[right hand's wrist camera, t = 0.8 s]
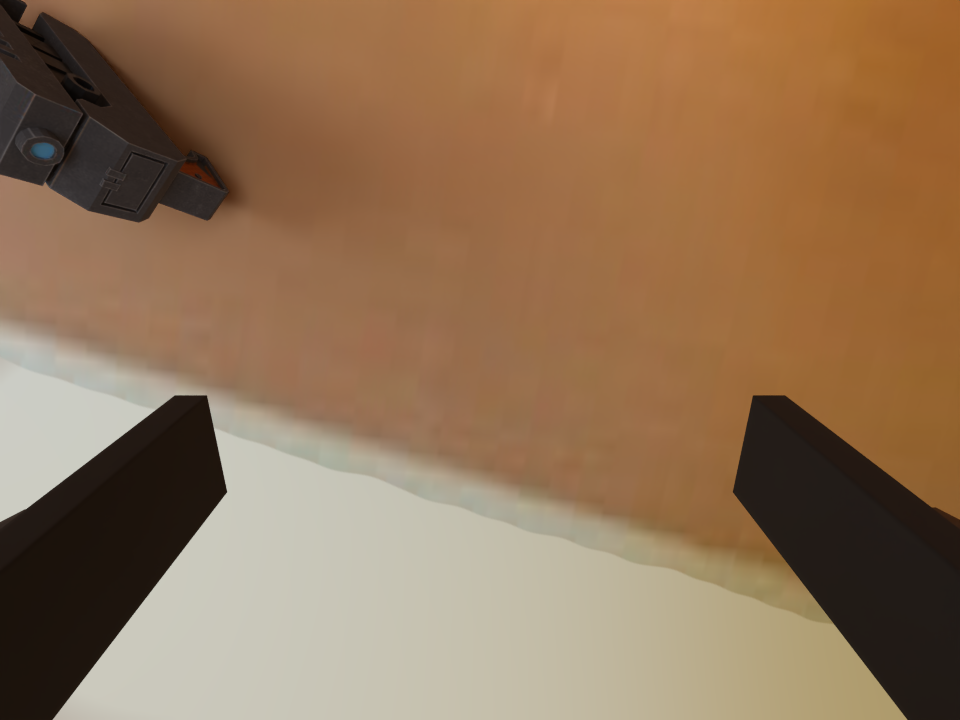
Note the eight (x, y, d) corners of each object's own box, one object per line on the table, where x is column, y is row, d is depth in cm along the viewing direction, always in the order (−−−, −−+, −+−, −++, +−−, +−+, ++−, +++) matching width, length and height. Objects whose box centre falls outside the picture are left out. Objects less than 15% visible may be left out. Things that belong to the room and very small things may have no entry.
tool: (215, 247, 42) (-21, 191, 28) (106, 107, 47) (-140, 0, 33) (256, 188, 40) (28, 97, 26) (139, 49, 45) (-106, -89, 31)
